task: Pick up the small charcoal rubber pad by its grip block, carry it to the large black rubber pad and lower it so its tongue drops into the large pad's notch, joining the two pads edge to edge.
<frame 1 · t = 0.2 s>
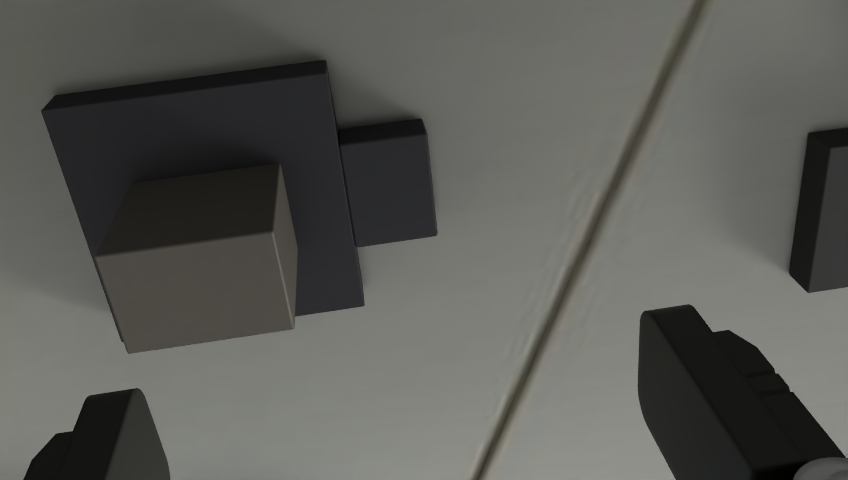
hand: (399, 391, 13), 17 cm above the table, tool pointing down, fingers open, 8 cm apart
small pad: (221, 198, 29), on the table
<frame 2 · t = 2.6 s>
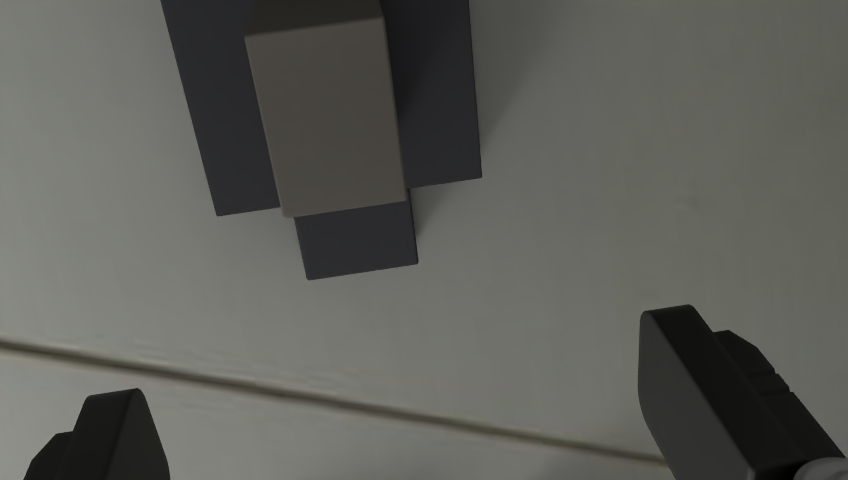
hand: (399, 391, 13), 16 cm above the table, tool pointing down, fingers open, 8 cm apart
small pad: (328, 54, 26), on the table
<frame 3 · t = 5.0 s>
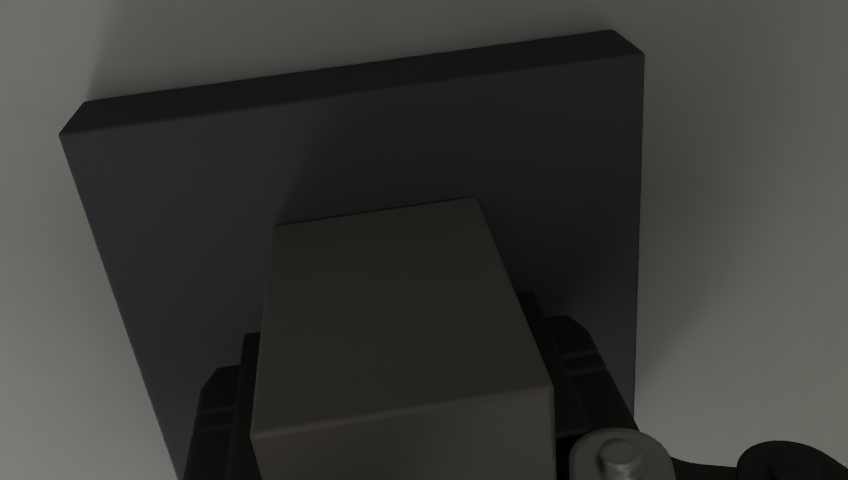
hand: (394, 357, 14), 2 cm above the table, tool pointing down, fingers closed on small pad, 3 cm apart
small pad: (386, 289, 16), on the table, touching gripper
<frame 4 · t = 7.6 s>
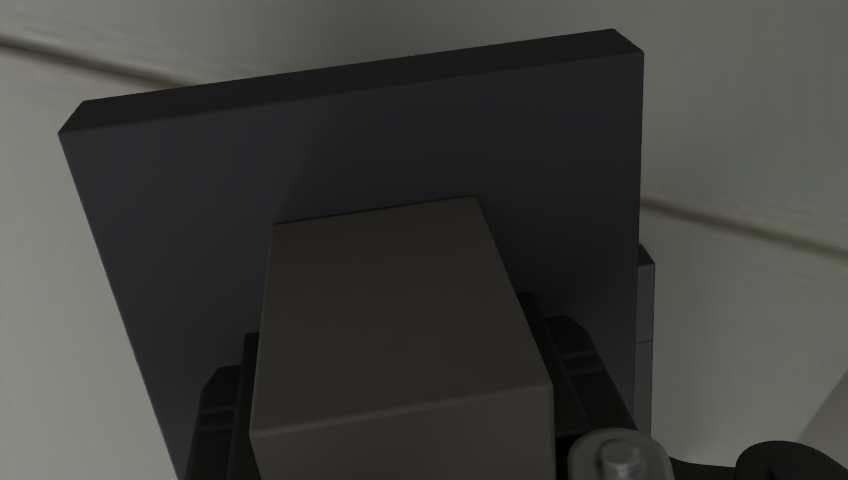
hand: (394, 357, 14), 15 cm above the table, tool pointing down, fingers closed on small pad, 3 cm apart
base pad: (435, 416, 35), on the table
small pad: (386, 288, 16), point 13 cm above the table, touching gripper
when the fingers open (2 cm above the table, at t = 10.3 s): small pad stays where it is, on the table.
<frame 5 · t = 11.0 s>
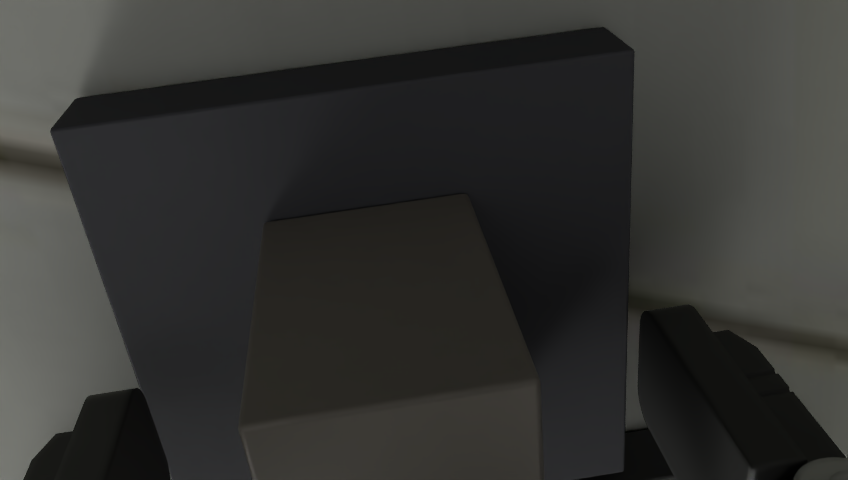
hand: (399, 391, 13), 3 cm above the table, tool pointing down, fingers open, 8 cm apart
small pad: (379, 286, 16), on the table
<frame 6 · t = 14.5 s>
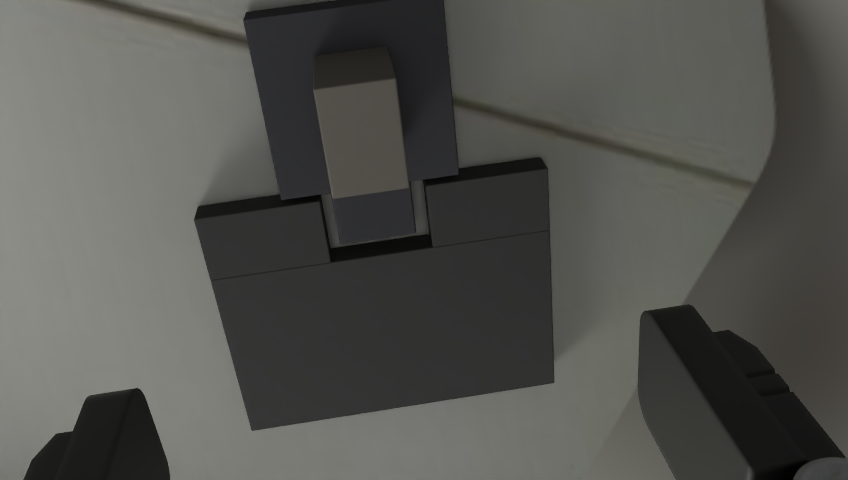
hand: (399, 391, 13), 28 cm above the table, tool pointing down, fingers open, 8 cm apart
base pad: (387, 293, 45), on the table
small pad: (356, 92, 40), on the table
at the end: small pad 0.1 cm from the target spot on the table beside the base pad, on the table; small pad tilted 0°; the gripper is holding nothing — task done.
